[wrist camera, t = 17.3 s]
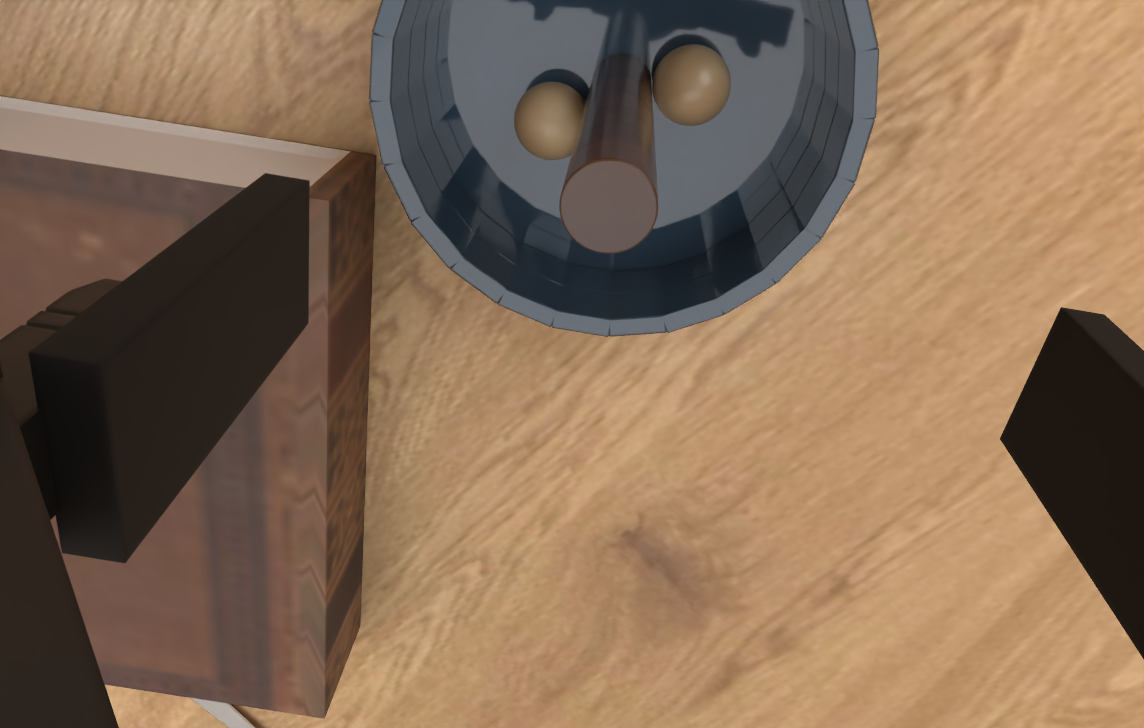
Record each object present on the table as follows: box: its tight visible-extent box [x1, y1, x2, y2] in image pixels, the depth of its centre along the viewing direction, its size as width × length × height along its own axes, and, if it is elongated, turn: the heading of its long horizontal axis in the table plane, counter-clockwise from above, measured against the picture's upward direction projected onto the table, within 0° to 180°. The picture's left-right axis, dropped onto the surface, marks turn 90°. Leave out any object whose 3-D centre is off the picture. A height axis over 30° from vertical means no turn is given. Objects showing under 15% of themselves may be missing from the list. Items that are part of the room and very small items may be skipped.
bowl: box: [369, 0, 879, 337], centre depth 33 cm, size 18×18×6 cm
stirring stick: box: [559, 54, 658, 254], centre depth 28 cm, size 2×2×16 cm
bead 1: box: [514, 82, 585, 160], centre depth 35 cm, size 3×3×3 cm
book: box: [0, 96, 376, 718], centre depth 42 cm, size 24×28×6 cm
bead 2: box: [652, 44, 731, 126], centre depth 34 cm, size 3×3×3 cm
